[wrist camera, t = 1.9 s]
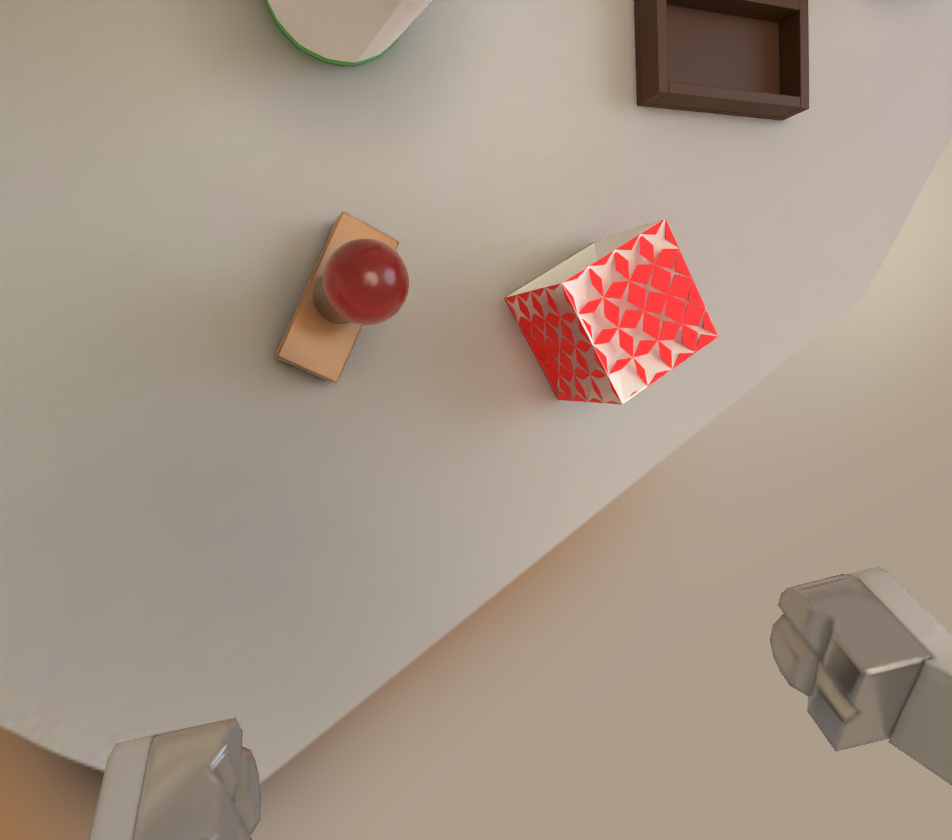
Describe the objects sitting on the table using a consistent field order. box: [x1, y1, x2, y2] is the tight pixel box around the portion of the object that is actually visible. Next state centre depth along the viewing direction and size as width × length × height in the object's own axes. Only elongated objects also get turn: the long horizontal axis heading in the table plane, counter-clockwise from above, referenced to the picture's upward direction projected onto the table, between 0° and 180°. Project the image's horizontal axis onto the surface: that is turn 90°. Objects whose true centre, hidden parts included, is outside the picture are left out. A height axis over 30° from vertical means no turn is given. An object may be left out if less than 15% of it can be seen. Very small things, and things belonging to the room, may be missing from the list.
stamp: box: [274, 212, 409, 382], centre depth 36 cm, size 9×4×12 cm, turn 156°
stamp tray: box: [635, 0, 809, 120], centre depth 49 cm, size 13×8×2 cm, turn 93°
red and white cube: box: [505, 218, 718, 404], centre depth 44 cm, size 8×8×8 cm
